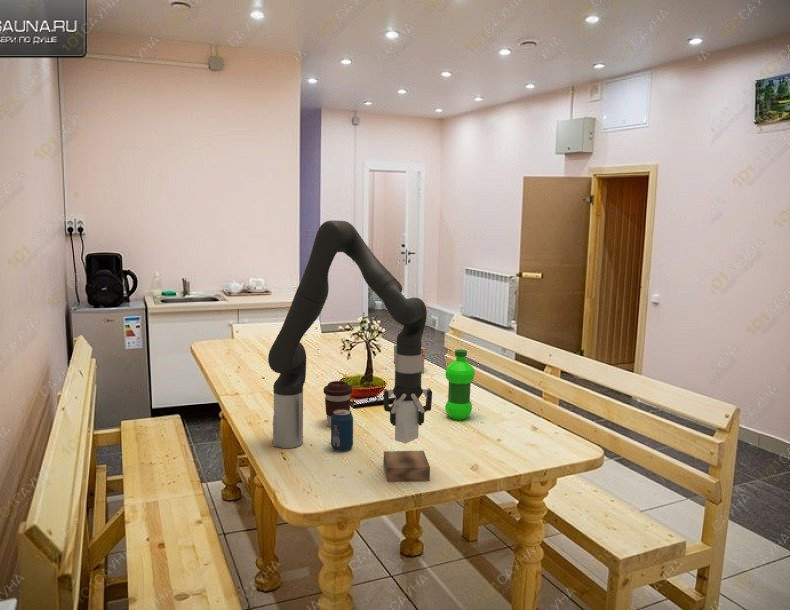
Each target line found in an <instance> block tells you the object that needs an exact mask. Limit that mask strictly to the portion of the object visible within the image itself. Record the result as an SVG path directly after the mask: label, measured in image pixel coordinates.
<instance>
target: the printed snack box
mask: <svg viewBox="0 0 790 610" xmlns="http://www.w3.org/2000/svg"><path fill="white" fill-rule="evenodd" d="M396 347H397V344H394V345H393V364H394V365H395V359H396ZM425 350H426V348H425V347H423V346H422V345H421V358H422V375H423V374H425V358H426V357H425V355H426V354H425V353H426V351H425Z"/></svg>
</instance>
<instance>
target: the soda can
mask: <svg viewBox="0 0 790 610" xmlns="http://www.w3.org/2000/svg"><path fill="white" fill-rule="evenodd" d="M353 445H354V416H353V413H352V411H351V409H350V410H348V409H337V410H334V411H333V414H332V416H331V427H330V446H331V448H332V449H333V451H336V452H341V453H342V452H348V451H351V449H352V447H353Z"/></svg>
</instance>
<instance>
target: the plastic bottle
mask: <svg viewBox="0 0 790 610" xmlns="http://www.w3.org/2000/svg"><path fill="white" fill-rule="evenodd" d="M467 355H468V350H467V349H455V350H454V356H455V358H456V359H455V360H454V361H452V362H451V363H450V364H449V365H448V366H447V367H446V370H445V378H446V380H447V381H448V394H447V395H448V397H447V402H446V403H445V406H444V408H445V409H444V410H445V413H446V414H447V415H448V416H450V418H451V419H453V420H457V421H461V420H465V419H466V418H467V417H469V416H470V414H471V413H472V410H473V404H472V402H471V387H472V386H471V383H472V381H473V380H474V378H475V375H476V374H475V373H476V372H475V368H474V366H473V365H471V364H470V363H469V362H468V361H467V360H466V357H467Z"/></svg>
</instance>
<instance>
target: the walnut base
mask: <svg viewBox="0 0 790 610" xmlns="http://www.w3.org/2000/svg"><path fill="white" fill-rule="evenodd" d="M382 461H383V469H384V474H385V477H386V478H385V479H386V482H387V483H389V482H390V483H393V482H394V483H395V482H425V481H426V482H427V481H430V479H431V478H430V477H431V466H430V463H429V461H428V458H427V455H426V453H425V451H424V450H390V451H388V450H387V451H385V450H383V460H382Z"/></svg>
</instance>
